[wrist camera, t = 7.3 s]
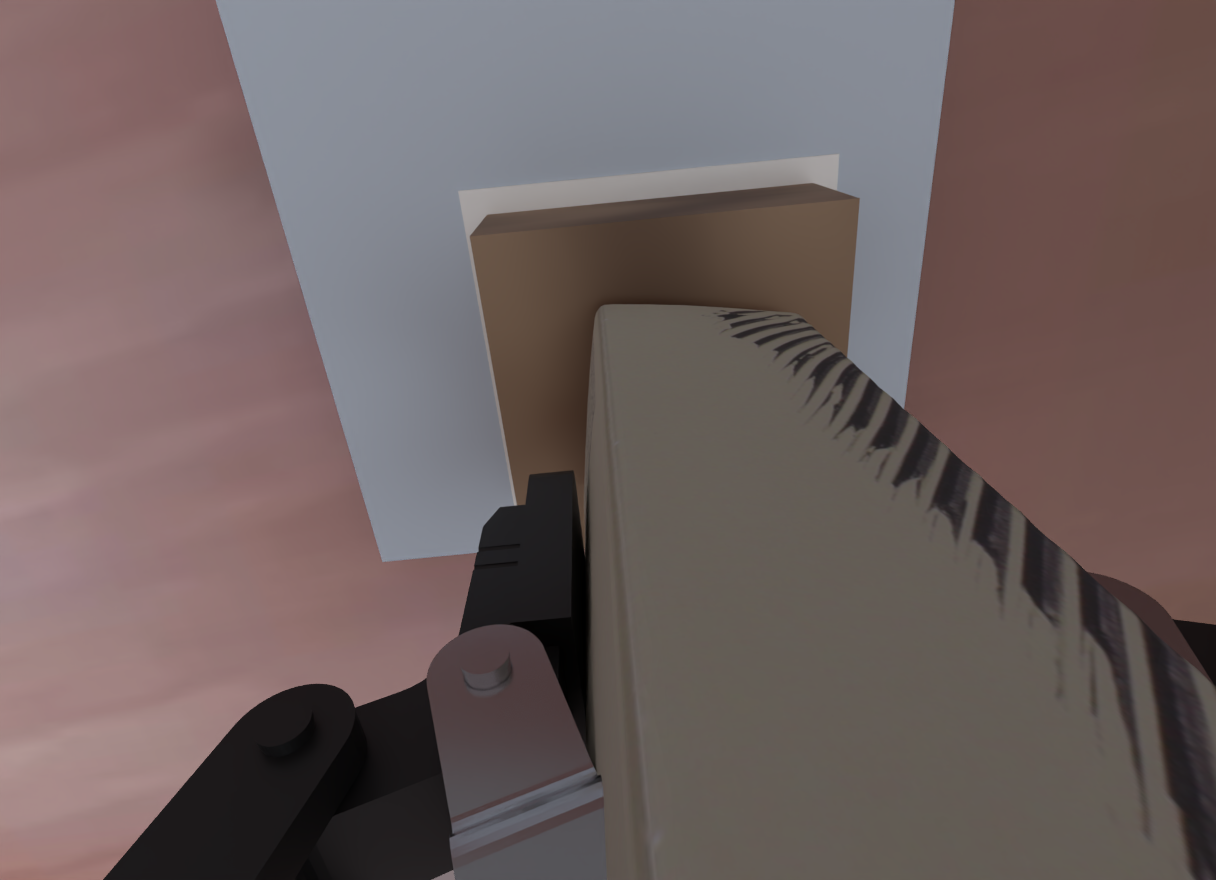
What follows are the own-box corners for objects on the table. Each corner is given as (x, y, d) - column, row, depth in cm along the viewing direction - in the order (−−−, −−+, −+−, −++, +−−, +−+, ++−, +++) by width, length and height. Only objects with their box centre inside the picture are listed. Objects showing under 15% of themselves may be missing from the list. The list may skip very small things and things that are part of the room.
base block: (812, 182, 16) (860, 198, 14) (799, 467, 20) (834, 524, 17) (487, 214, 16) (469, 236, 14) (532, 493, 20) (525, 554, 17)
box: (762, 514, 16) (1244, 1580, 4) (577, 508, 16) (580, 1636, 4) (804, 294, 14) (2084, 1363, 2) (587, 283, 13) (664, 1453, 2)
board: (948, -128, 15) (975, -145, 14) (877, 495, 22) (892, 514, 21) (218, -57, 15) (193, -68, 14) (390, 543, 22) (381, 563, 21)
